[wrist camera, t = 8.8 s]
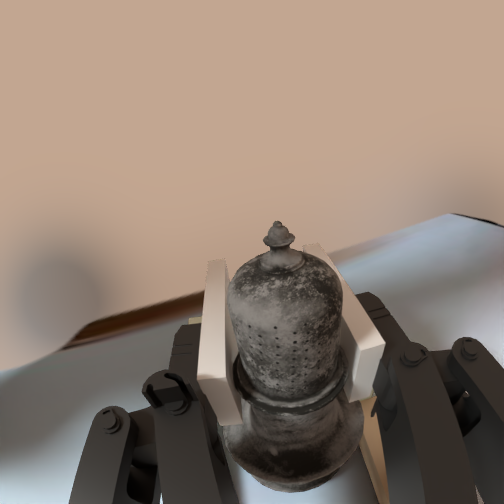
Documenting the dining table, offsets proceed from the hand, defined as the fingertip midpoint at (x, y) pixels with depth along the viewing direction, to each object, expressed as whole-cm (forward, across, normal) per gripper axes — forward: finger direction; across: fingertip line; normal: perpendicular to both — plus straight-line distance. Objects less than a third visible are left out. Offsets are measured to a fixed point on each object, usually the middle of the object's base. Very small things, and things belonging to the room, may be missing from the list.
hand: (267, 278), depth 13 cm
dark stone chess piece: (-5, 0, -7) cm, 9 cm away
